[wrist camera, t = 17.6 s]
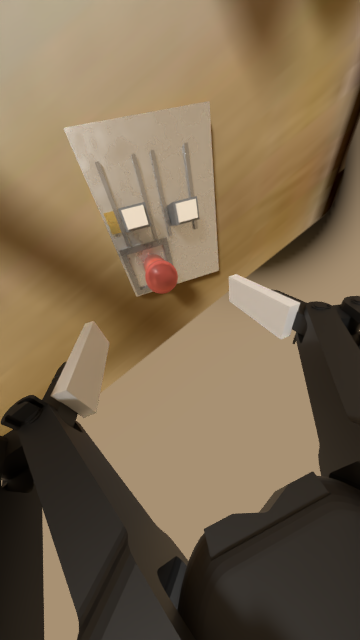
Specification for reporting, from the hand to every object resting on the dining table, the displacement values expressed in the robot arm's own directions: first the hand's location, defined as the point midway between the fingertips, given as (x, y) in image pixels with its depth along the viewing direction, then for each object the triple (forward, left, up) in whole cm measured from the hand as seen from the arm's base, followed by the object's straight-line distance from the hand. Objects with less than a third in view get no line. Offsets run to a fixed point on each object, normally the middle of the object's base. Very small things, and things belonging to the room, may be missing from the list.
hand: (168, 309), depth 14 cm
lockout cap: (0, +1, -19) cm, 19 cm away
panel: (-7, +5, -21) cm, 23 cm away
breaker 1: (-8, 0, -19) cm, 21 cm away
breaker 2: (-7, +8, -19) cm, 22 cm away
